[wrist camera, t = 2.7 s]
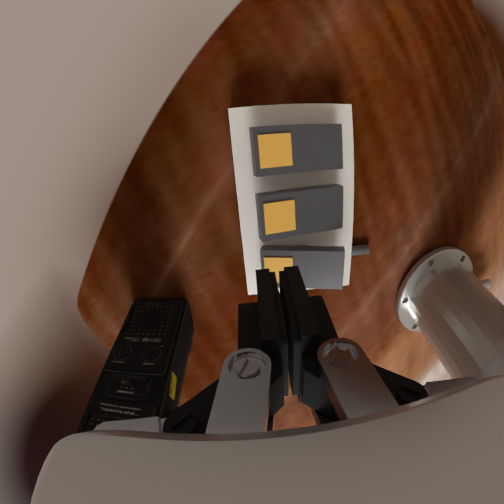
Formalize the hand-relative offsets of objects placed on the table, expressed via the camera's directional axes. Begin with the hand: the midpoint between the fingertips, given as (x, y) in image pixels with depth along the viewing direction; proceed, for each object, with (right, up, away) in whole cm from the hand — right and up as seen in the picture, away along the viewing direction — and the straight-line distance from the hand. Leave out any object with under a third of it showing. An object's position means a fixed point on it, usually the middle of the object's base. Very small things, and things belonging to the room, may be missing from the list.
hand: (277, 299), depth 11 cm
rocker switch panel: (+4, +7, +15) cm, 17 cm away
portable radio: (-11, -6, +21) cm, 25 cm away
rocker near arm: (+4, +1, +14) cm, 15 cm away
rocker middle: (+3, +6, +12) cm, 13 cm away
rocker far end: (+2, +10, +10) cm, 14 cm away
